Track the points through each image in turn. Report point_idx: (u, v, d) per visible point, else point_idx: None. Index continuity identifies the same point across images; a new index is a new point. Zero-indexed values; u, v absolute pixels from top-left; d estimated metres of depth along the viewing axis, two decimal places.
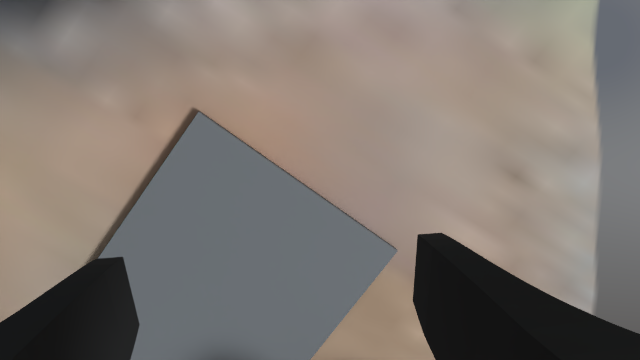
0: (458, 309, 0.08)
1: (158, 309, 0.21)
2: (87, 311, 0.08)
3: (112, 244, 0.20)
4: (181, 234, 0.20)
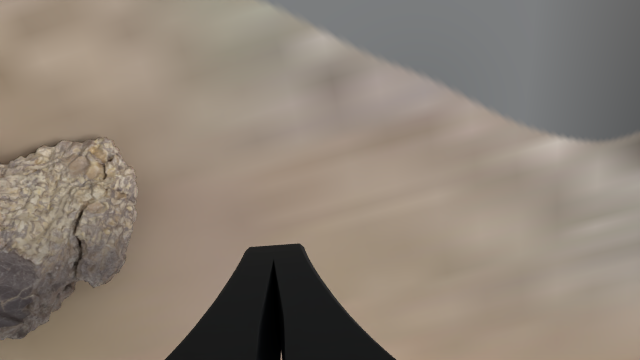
0: (282, 325, 0.08)
1: None
2: (270, 295, 0.08)
3: None
4: None
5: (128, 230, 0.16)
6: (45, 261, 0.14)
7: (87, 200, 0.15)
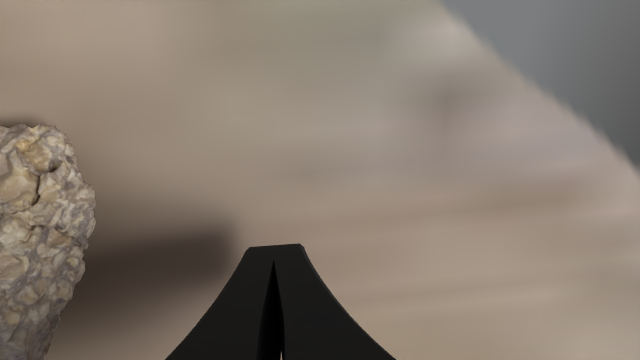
0: (281, 325, 0.08)
1: None
2: (271, 295, 0.08)
3: None
4: None
5: (62, 302, 0.09)
6: None
7: None
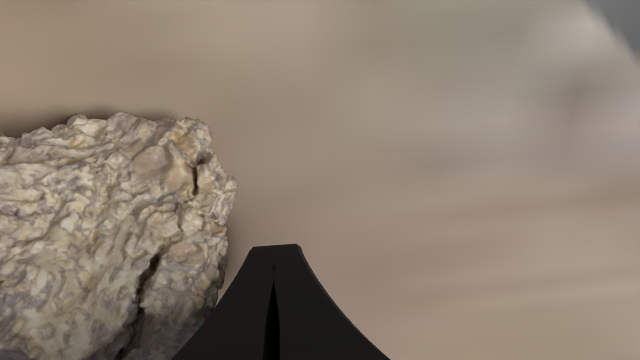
0: (278, 325, 0.08)
1: None
2: (275, 295, 0.08)
3: None
4: None
5: None
6: None
7: (169, 235, 0.08)
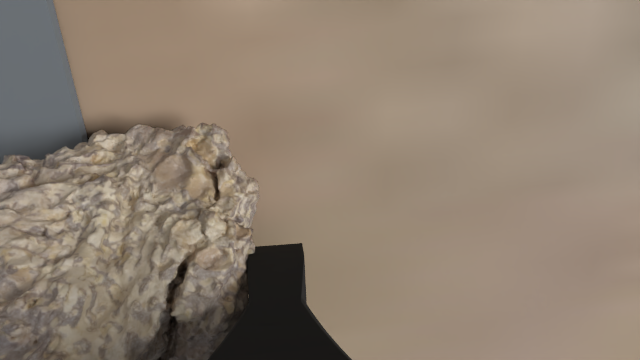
0: None
1: None
2: (304, 292, 0.08)
3: None
4: None
5: None
6: None
7: (194, 242, 0.08)
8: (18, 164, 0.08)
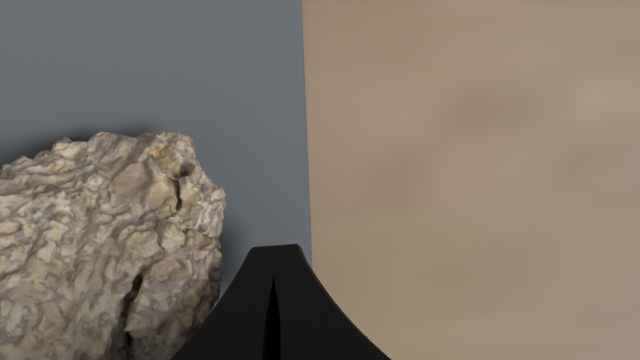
0: (278, 325, 0.08)
1: None
2: (275, 295, 0.08)
3: None
4: None
5: (212, 304, 0.09)
6: None
7: (151, 254, 0.07)
8: None
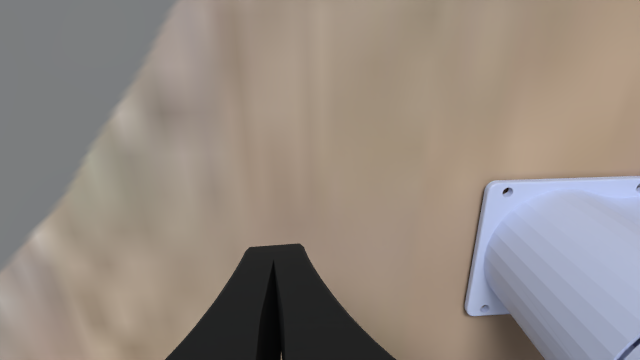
0: (282, 325, 0.08)
1: None
2: (271, 295, 0.08)
3: None
4: None
5: None
6: None
7: None
8: None
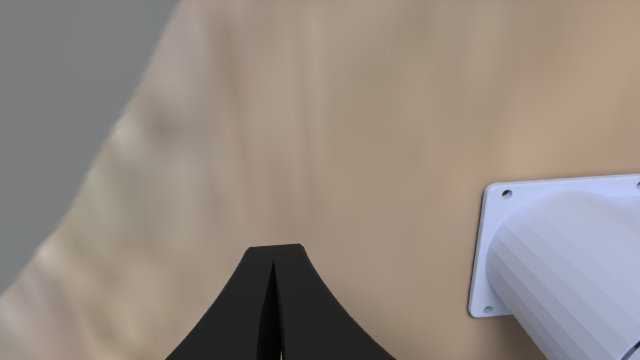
0: (281, 325, 0.08)
1: None
2: (270, 295, 0.08)
3: None
4: None
5: None
6: None
7: None
8: None
